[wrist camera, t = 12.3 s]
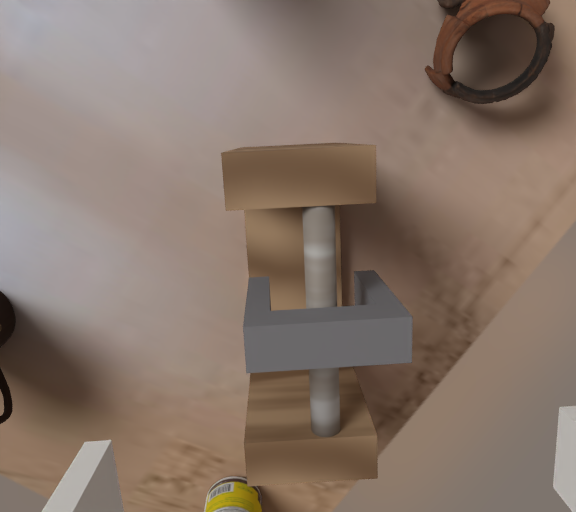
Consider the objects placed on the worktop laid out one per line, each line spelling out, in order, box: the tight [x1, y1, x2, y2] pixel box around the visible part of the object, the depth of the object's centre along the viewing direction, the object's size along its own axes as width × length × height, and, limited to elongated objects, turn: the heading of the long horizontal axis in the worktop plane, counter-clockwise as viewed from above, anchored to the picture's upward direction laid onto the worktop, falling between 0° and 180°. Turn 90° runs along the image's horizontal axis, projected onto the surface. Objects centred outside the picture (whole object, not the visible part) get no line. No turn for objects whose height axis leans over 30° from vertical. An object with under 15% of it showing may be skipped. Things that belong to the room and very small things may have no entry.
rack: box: [221, 143, 378, 487], centre depth 35 cm, size 20×8×16 cm, turn 3°
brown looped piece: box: [425, 0, 554, 104], centre depth 36 cm, size 12×10×8 cm
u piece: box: [243, 270, 412, 373], centre depth 30 cm, size 9×3×9 cm, turn 93°
